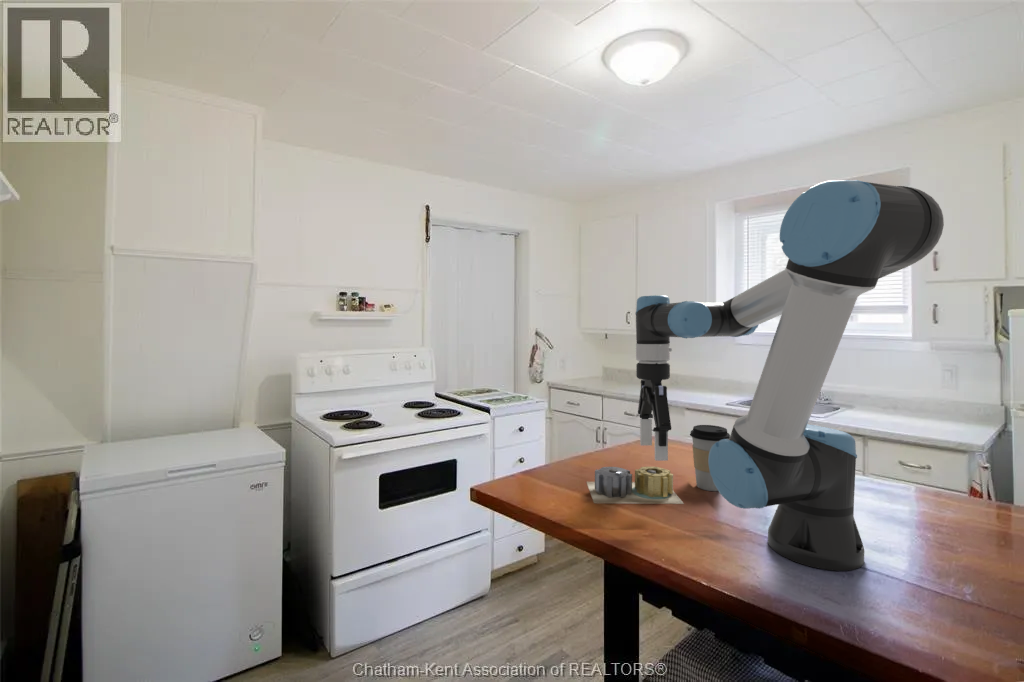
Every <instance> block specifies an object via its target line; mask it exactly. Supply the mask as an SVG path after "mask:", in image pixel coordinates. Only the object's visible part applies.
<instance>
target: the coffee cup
mask: <svg viewBox="0 0 1024 682" xmlns="http://www.w3.org/2000/svg"><path fill="white" fill-rule="evenodd" d="M689 435H690V437H692V455H693V456H692V457H693V458H692V459H693V466H694V473H695V482H696V483H695V484H696V487H697V488H699V489H701V490H703V491H706V492H707V491H708V492H719V491H718V489H717V488H716V486H715V484H714V482H713V479H712V476H711V474H710V470H709V464H708V458H709V452H710V449H711V447H712V446H713V445H714V444H715V443H716V442H719V441H720V440H722V439H729V438H730V435H731V433H729V432H728V429H727V428H726V427H723V426H718V425H711V424H697V425H694V426H693V427H692V430H690V434H689Z"/></svg>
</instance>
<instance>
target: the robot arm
mask: <svg viewBox="0 0 1024 682" xmlns="http://www.w3.org/2000/svg"><path fill="white" fill-rule="evenodd" d="M944 223H945V221H944V214H943V211H942V209H941V207H940V205H939V203H938V202H937V200H935V199H934V197H933V196H931V195H929V194H928V193H926V192H925V191H923V190H921V189H918V188H915V187H911V186H906V185H905V186H904V185H892V184H886V183H885V184H884V183H883V184H882V183H878V182H877V183H876V182H869V181H863V180H862V181H861V180H859V179H856V180H854V179H853V180H852V179H850V180H849V179H844V180H842V179H841V180H839V179H838V180H837V179H836V180H826V181H823V182H820V183H817V184H815V185H814V186H811V187H810V188H809V189H807V190H806V191H805V192H802V193H800V195H799V196H798V197H797V198H796V199H794V201H793V202H792V203H791V204H790V206H789V208H787V211H786V213H785V214H784V216H783V219H782V221H781V225H780V228H779V241H780V243H782V245H781V249H782V251H783V253H784V255H785V256H786V257H787V258H788V261H787V263H786V266H785V268H784V269H783V270H781V271H779V272H778V273H776V274H774V275H772V276H771V277H768V278H767V279H764V280H763V281H761V282H758V283H757V284H756V285H754V286H752V287H750V288H748V289H746V290H744V291H743V292H741V293H739V294H738V295H735V296H733V297H732V298H730V299H728V300H726V301H723V302H722V301H721V302H719V301H718V302H714V301H713V302H711V301H710V302H709V301H708V302H700V301H693V300H692V301H691V300H690V301H687V300H686V301H681V302H670V297H669V296H668V295H662V294H661V295H658V294H657V295H656V294H655V295H643V296H639V297H638V298H637V300H636V308H635V309H636V311H635V332H636V334H635V335H636V336H635V337H636V338H635V339H636V343H635V360H636V361H638V362H637V363H636V367H635V368H636V371H635V372H636V373H635V376H636V378H637V379H639V380H640V389H639V392H640V393H639V400H638V408H637V414H638V415H639V424H640V425H639V430H640V431H639V434H640V435H639V436H640V438H639V439H640V440H639V442H640V443H639V445H640V446H643V447H644V446H653V432H654V460H655V461H665V462H666V461H669V431H671V430H672V425H671V424H672V423H671V417H670V416H671V415H670V408H669V401H668V391H667V390H668V387H667V385H663V383H662V381H663V380H664V381H665V380H669V379H670V378H671V377H670V376H671V375H670V374H671V372H670V371H671V369H670V367H671V365H670V363H669V362H668V361H670V352H672V351H673V348H672V347H670V342H671V341H670V338H682V339H694V338H711V337H712V338H713V337H714V338H715V337H718V338H719V337H732V338H739V337H742V336H749V335H751V334H753V333H754V332H755V331H756V330H757V328H758V327H759V325H761V324H763V323H766V322H767V321H770V320H772V319H775V318H777V317H779V316H780V319H779V321H778V324H777V327H776V330H775V333H774V335H773V339H772V341H771V345H770V348H769V351H768V354H767V357H766V359H765V362H764V366H763V368H762V371H761V374H760V378H759V380H758V384H757V386H756V389H755V392H754V394H753V398H752V401H751V404H750V406H749V410H748V412H747V414H744V415H743V416H739V417H737V418H736V419H735V420H734V423H733V426H732V429H731V432H730V438H729V439H722V440H720V441H719V442H716V443H715V444H714V445H713V446H712V447H711V449H710V452H709V458H708V464H709V470H710V474H711V476H712V479H713V482H714V484H715V486H716V488H717V489H718V491H717V492H718V493H719V494H720V495H721V496H722V497H723V498H724V499H725V500H726V501H727V502H728V503H729V504H730V505H732V506H735V507H737V508H739V509H758V510H759V509H764V508H765V507H766V508H768V507H772V506H776V505H777V507H776V510H775V512H774V515H773V517H772V520H771V522H770V525H769V527H768V529H767V543H768V545H769V547H770V548H771V549H772V550H773V552H775V553H777V554H779V555H780V556H782V557H783V558H786V559H788V560H791V561H793V562H795V563H798V564H800V565H804V566H807V567H810V568H816V569H821V570H827V571H840V572H841V571H842V572H843V571H852V570H856V569H858V568H861V567H862V566H863V565H864V562H865V547H864V544H863V541H862V538H861V534H860V531H859V529H858V526H857V523H856V520H855V516H854V515H855V514H854V511H855V509H854V508H855V488H856V486H855V485H856V463H857V462H856V461H857V458H858V455H857V449H856V447H857V445H856V439H855V437H854V436H853V435H851V434H850V433H848V432H846V431H842V430H840V429H839V430H838V429H835V428H831V427H826V426H825V427H824V426H822V425H821V426H820V425H815V424H809V421H810V419H811V416H812V412H813V411H814V409H815V405H816V403H817V401H818V398H819V396H820V393H821V391H822V387H823V385H824V383H825V380H826V378H827V375H828V373H829V370H830V368H831V365H832V362H833V360H834V358H835V356H836V354H837V353H836V352H837V350H838V347H839V345H840V343H841V339H842V337H843V335H844V333H845V330H846V327H847V326H848V322H849V321H850V317H851V315H852V312H853V310H854V308H855V305H856V303H857V300H858V297H859V296H861V295H863V294H864V293H867V292H869V291H872V290H874V289H875V288H876V286H877V284H878V281H879V280H881V279H883V278H884V277H886V276H889V275H892V274H894V273H896V272H899V271H900V270H903V269H905V268H908V267H909V266H912V265H914V264H916V263H918V262H919V261H921V260H922V259H924V258H925V257H926V256H927V255H929V254H930V253H931V252H932V251H933V249H935V247H936V245H937V244H938V243H939V241H940V238H941V237H942V235H943V232H944V231H943V229H944ZM653 419H654V425H655V427H653Z"/></svg>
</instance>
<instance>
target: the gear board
mask: <svg viewBox="0 0 1024 682" xmlns="http://www.w3.org/2000/svg"><path fill="white" fill-rule="evenodd" d="M609 472H613V473H615V472H618V470H616V469H610V470H609ZM647 472H648V473H652V474H656V471H654V470H648V471H647ZM586 485H587V488H588V490H589V493H590V496H591V498H592V502H593V504H624V505H625V504H628V505H629V504H634V505H635V504H636V505H637V504H641V505H642V504H643V505H645V504H647V505H648V504H650V505H653V504H654V505H660V504H661V505H684V504H685V503H684V501H682V499H681V498H680V497H679V496H678V494H677V493H676V492H675V491H674V490H673V493H672V494H668V496H667V497H649V496H647V495H643V494H639V493H638V492H637V489H635V481H632V493H631V494H627V495H626V497H607V496H605V495H602V494H598V493H597V492H596V489H595V481H586Z"/></svg>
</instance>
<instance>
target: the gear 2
mask: <svg viewBox="0 0 1024 682" xmlns="http://www.w3.org/2000/svg"><path fill="white" fill-rule="evenodd" d="M648 470H654V471H656V474H652V473H648V472H647V471H648ZM634 482H635V489H637V492H638V493H639V494H643V495H647V496H649V497H667V496H668V494H672V493H673V491H674V473H671V470H669V469H667V468H663V467H658V466H641V467H640V468H638V469H637V468H636V469H635V470H634Z"/></svg>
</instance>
